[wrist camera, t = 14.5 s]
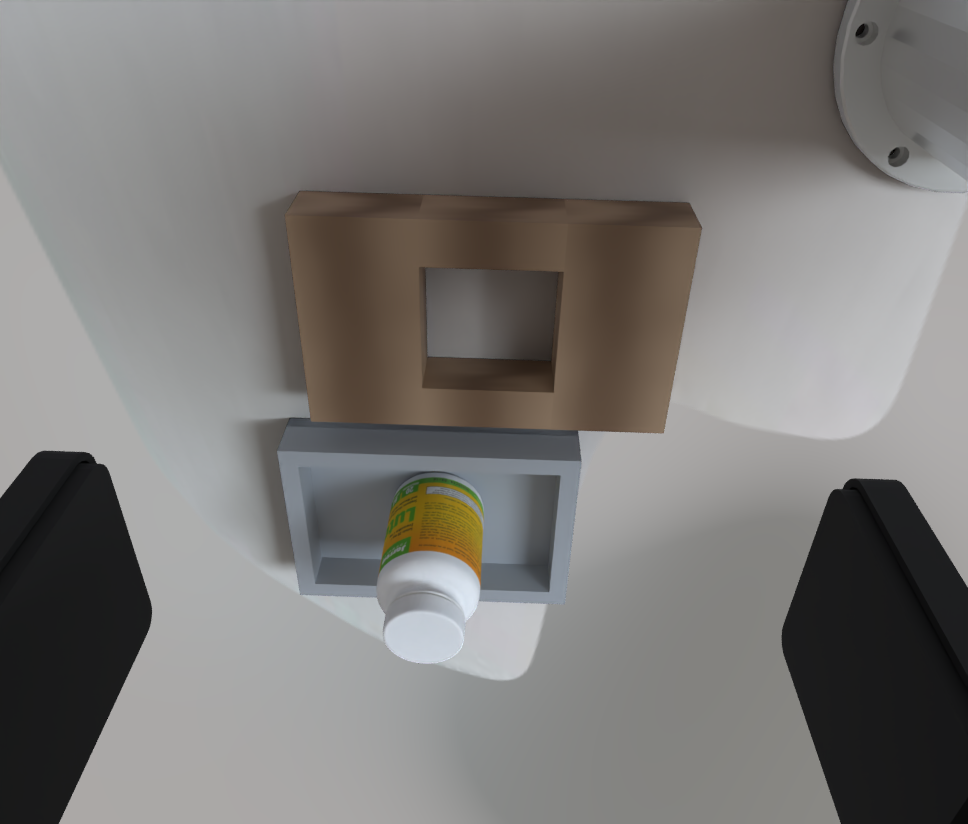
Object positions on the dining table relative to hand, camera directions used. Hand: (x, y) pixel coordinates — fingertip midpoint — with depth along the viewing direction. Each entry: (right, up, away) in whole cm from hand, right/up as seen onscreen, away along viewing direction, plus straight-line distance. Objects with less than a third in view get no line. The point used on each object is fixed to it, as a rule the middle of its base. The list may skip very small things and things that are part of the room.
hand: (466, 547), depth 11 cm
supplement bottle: (-2, -3, +36) cm, 37 cm away
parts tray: (-3, -3, +37) cm, 37 cm away
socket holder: (+1, +7, +30) cm, 30 cm away
